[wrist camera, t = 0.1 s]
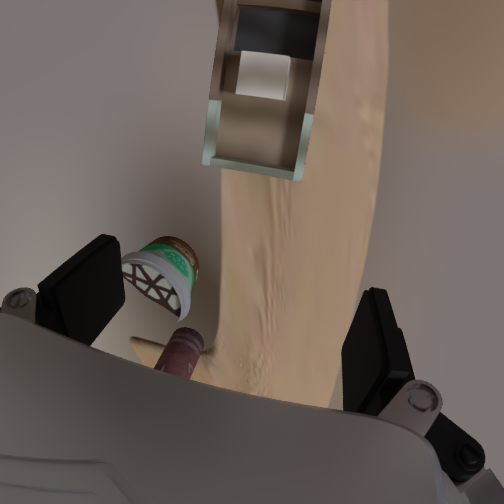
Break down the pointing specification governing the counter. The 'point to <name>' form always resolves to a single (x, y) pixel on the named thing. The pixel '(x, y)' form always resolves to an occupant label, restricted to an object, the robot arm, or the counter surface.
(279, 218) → the counter surface
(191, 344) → the can
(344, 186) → the counter surface
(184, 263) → the food container
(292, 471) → the robot arm
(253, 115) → the box
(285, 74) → the block
